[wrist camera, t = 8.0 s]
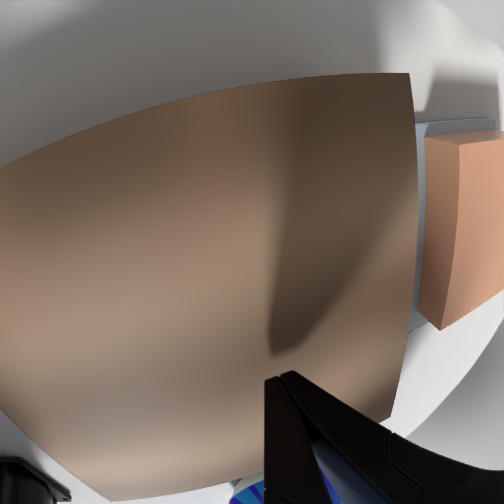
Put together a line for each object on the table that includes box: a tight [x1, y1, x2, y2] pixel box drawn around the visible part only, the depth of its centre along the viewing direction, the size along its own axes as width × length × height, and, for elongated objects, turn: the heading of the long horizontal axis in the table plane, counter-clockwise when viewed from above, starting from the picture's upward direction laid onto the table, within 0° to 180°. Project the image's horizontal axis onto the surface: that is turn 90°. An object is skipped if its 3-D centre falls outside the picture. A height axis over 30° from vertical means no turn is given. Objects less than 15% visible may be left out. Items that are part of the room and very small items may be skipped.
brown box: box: [0, 73, 418, 502], centre depth 10 cm, size 14×14×4 cm
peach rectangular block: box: [417, 130, 504, 331], centre depth 13 cm, size 9×6×2 cm, turn 10°
